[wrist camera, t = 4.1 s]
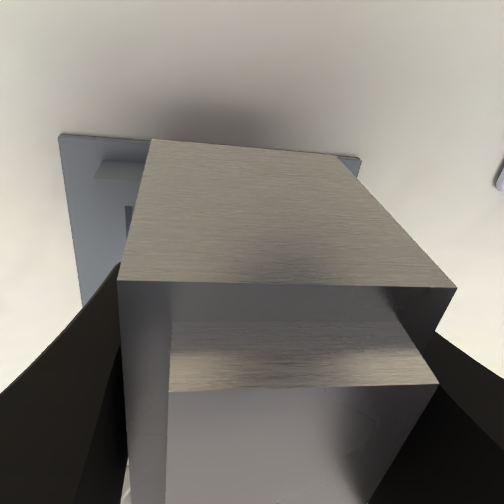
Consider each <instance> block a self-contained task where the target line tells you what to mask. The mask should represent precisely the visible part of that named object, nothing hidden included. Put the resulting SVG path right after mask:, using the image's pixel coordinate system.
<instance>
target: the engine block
mask: <svg viewBox="0 0 504 504" xmlns="http://www.w3.org/2000/svg"><path fill="white" fill-rule="evenodd" d="M456 290H457V287H456V285H455V284H454V283H453V282H452V281H451V280H450V279H449V278H448V277H447V276H446V275H445V274H444V272H443V271H442V270H441V269H440V268H439V267H438V266H437V265H436V264H435V263H434V262H433V261H432V259H431V258H430V257H429V256H428V255H427V254H426V253H425V252H424V251H423V250H422V249H421V248H420V246H419V245H418V244H417V243H416V242H415V241H414V240H413V239H412V238H411V237H410V236H409V235H408V233H407V232H406V231H405V230H404V229H403V228H402V227H401V226H400V225H399V224H398V223H397V222H396V220H395V219H394V218H393V217H392V216H391V215H390V214H389V213H388V212H387V211H386V210H385V209H384V207H383V206H382V205H381V204H380V203H379V202H378V201H377V200H376V199H375V198H374V197H373V195H372V194H371V193H370V192H369V191H368V190H367V189H366V188H365V187H364V186H363V185H362V184H361V182H360V181H359V180H358V179H357V178H356V177H355V176H354V175H353V174H352V173H351V172H350V171H349V169H348V168H347V167H346V166H345V165H344V164H343V163H342V162H341V161H340V160H339V159H338V158H337V156H336V155H329V154H318V153H306V152H295V151H284V150H273V149H262V148H251V147H240V146H229V145H218V144H207V143H195V142H184V141H173V140H162V139H151V143H150V147H149V151H148V155H147V159H146V163H145V168H144V172H143V176H142V180H141V184H140V188H139V192H138V196H137V200H136V204H135V208H134V212H133V216H132V220H131V225H130V229H129V233H128V237H127V241H126V245H125V249H124V253H123V257H122V261H121V265H120V269H119V273H118V277H117V291H118V306H119V321H120V337H121V352H122V367H123V383H124V398H125V413H126V429H127V444H128V459H129V475H130V490H131V504H367V503H368V502H369V500H370V498H371V497H372V495H373V493H374V492H375V490H376V489H377V487H378V485H379V484H380V482H381V480H382V479H383V477H384V475H385V474H386V472H387V470H388V469H389V467H390V465H391V464H392V462H393V460H394V459H395V457H396V455H397V454H398V452H399V450H400V449H401V447H402V445H403V444H404V442H405V440H406V439H407V437H408V435H409V434H410V432H411V431H412V429H413V427H414V426H415V424H416V422H417V421H418V419H419V417H420V416H421V414H422V412H423V411H424V409H425V407H426V406H427V404H428V402H429V401H430V399H431V397H432V396H433V394H434V392H435V391H436V389H437V387H438V386H439V384H440V383H439V382H438V380H437V379H436V377H435V376H434V374H433V373H432V371H431V369H430V368H429V366H428V365H427V363H426V362H425V360H424V359H423V357H422V354H423V352H424V350H425V348H426V346H427V344H428V342H429V341H430V339H431V337H432V335H433V333H434V331H435V329H436V327H437V326H438V324H439V322H440V320H441V318H442V316H443V314H444V312H445V311H446V309H447V307H448V305H449V303H450V301H451V299H452V297H453V296H454V294H455V292H456Z"/></svg>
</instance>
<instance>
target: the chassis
mask: <svg viewBox="0 0 504 504" xmlns="http://www.w3.org/2000/svg"><path fill="white" fill-rule="evenodd" d="M58 142H59V149H60V156H61V162H62V169H63V176H64V183H65V190H66V197H67V204H68V210H69V217H70V224H71V231H72V238H73V245H74V252H75V258H76V265H77V272H78V279H79V286H80V293H81V300H82V306H83V307H84V306H85V304H86V303H87V302H88V301H89V300H90V298H91V297H92V296H93V295H94V293H95V292H96V291H97V289H98V288H99V287H100V285H101V284H102V283H103V281H104V280H105V279H106V277H107V276H108V275H109V273H110V272H111V270H112V269H113V267H114V266H115V265H116V264H118V263H119V262H121V261H122V257H123V253H124V249H125V245H126V241H127V237H128V233H129V229H130V225H131V220H132V216H133V212H134V208H135V204H136V200H137V196H138V192H139V188H140V184H141V180H142V176H143V172H144V168H145V163H146V159H147V155H148V151H149V147H150V143H151V141H142V140H129V139H117V138H104V137H92V136H79V135H66V134H60V135H59V137H58ZM337 158H338V159H339V160H340V161H341V162H342V163H343V164H344V165H345V166H346V167H347V168H348V169H349V171H350V172H351V173H352V174H353V175H354V176H355V177H356V178H357V176H358V172H359V169H360V165H361V162H362V161H361V160H360V159H359V158H356V157H344V156H337ZM127 465H129V459H128V462H127Z"/></svg>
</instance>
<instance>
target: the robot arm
mask: <svg viewBox="0 0 504 504" xmlns="http://www.w3.org/2000/svg"><path fill="white" fill-rule="evenodd" d="M496 188H497V190H498V191H500V192H502V193H504V168H503V170H502V172H501V174H500V176H499V178H498V180H497V183H496ZM120 265H121V262H119V263H118V264H116V265H115V266H114V267H113V269H112V270H111V272H110V273H109V275H108V276H107V277H106V279H105V280H104V281H103V283H102V284H101V285H100V287H99V288H98V289H97V291H96V292H95V293H94V295H93V296H92V297H91V298H90V300H89V301H88V302H87V303H86V304H85V306H84V307H83V308H82V309H81V310H80V312H79V313H78V314H77V315H76V316H75V317H74V319H73V320H72V321H71V322H70V323H69V324H68V326H67V327H66V328H65V329H64V330H63V331H62V332H61V333H60V335H59V336H58V337H57V338H56V339H55V340H54V341H53V342H52V343H51V344H50V345H49V346H48V347H47V348H46V349H45V350H44V351H43V352H42V353H41V354H40V355H39V356H38V358H37V359H36V360H35V361H34V362H33V363H32V364H31V365H30V366H29V367H28V368H27V369H26V370H25V371H24V372H23V373H22V374H21V375H19V376H18V377H17V378H16V379H15V380H14V381H13V382H12V383H11V384H10V385H9V386H8V387H7V388H6V389H5V390H4V391H3V392H1V393H0V504H121V496H122V490H123V484H124V477H125V472H126V467H127V462H128V444H127V429H126V413H125V398H124V383H123V367H122V352H121V337H120V321H119V306H118V291H117V277H118V273H119V269H120ZM422 357H423V359H424V360H425V362H426V363H427V365H428V366H429V368H430V369H431V371H432V373H433V374H434V376H435V377H436V379H437V380H438V382H439V383H440V384H439V386H438V387H437V389H436V391H435V392H434V394H433V396H432V397H431V399H430V401H429V402H428V404H427V406H426V407H425V409H424V411H423V412H422V414H421V416H420V417H419V419H418V421H417V422H416V424H415V426H414V427H413V429H412V431H411V432H410V434H409V435H408V437H407V439H406V440H405V442H404V444H403V445H402V447H401V449H400V450H399V452H398V454H397V455H396V457H395V459H394V460H393V462H392V464H391V465H390V467H389V469H388V470H387V472H386V474H385V475H384V477H383V479H382V480H381V482H380V484H379V485H378V487H377V489H376V490H375V492H374V493H373V495H372V497H371V498H370V500H369V502H368V504H504V379H503V378H501V377H499V376H498V375H496V374H495V373H493V372H492V371H490V370H489V369H487V368H486V367H484V366H483V365H481V364H480V363H478V362H477V361H475V360H474V359H473V358H471V357H470V356H468V355H467V354H466V353H464V352H463V351H461V350H460V349H459V348H457V347H456V346H454V345H453V344H452V343H450V342H449V341H447V340H446V339H445V338H443V337H442V336H441V335H439V334H438V333H437V332H435V331H434V333H433V335H432V337H431V339H430V341H429V342H428V344H427V346H426V348H425V350H424V352H423V354H422Z"/></svg>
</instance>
